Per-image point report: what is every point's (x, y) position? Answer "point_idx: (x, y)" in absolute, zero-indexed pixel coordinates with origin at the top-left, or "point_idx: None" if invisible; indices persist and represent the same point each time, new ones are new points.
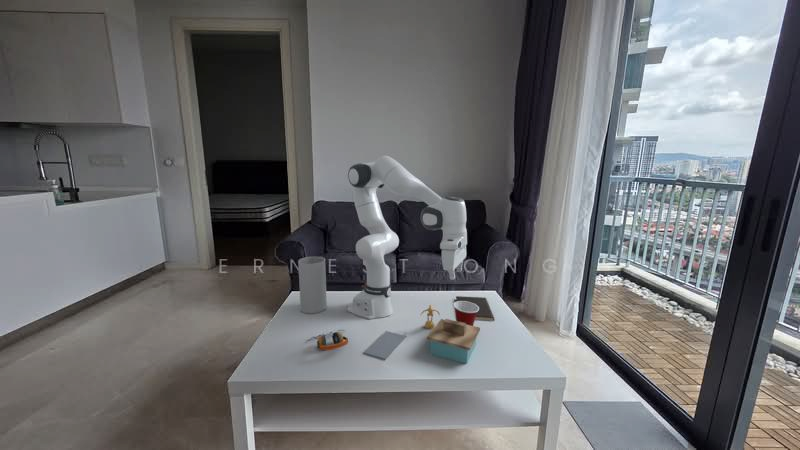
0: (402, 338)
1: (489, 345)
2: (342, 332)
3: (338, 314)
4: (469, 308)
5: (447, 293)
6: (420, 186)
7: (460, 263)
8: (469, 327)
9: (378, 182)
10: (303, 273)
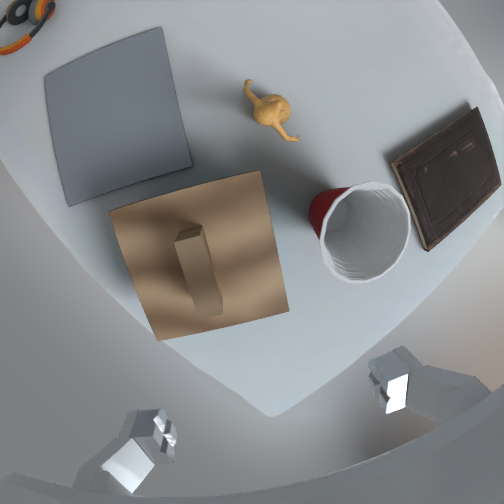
0: (154, 88)
1: (298, 300)
2: None
3: None
4: (391, 224)
5: (480, 76)
6: None
7: (440, 409)
8: (267, 286)
9: None
10: None
